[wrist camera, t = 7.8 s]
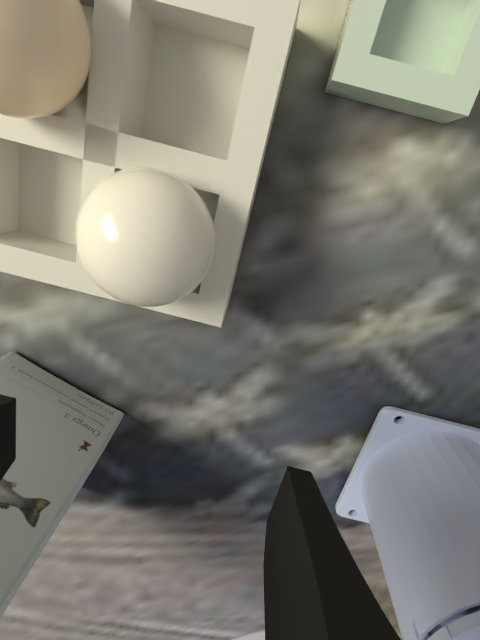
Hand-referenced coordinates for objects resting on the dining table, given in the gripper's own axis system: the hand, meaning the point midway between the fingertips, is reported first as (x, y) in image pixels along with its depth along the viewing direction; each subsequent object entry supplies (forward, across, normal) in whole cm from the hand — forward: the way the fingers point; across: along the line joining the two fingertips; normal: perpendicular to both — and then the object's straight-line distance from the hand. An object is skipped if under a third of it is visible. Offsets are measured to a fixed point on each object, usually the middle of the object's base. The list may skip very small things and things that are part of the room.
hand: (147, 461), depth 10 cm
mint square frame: (+10, -5, -14) cm, 17 cm away
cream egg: (+6, +2, -4) cm, 8 cm away
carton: (+10, +5, -7) cm, 13 cm away
